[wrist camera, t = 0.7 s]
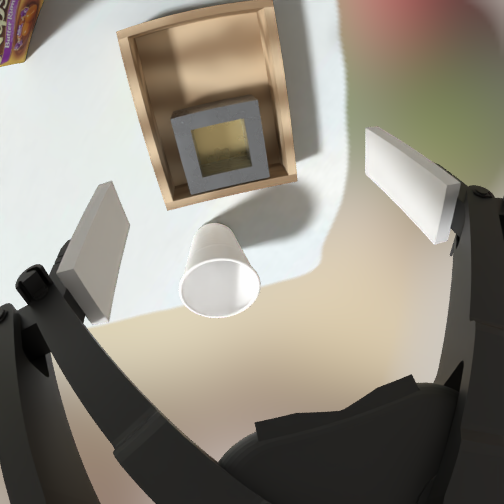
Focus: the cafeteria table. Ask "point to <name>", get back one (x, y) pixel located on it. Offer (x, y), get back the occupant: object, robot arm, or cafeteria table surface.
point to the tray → (208, 85)
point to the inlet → (221, 143)
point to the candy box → (16, 29)
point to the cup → (218, 274)
